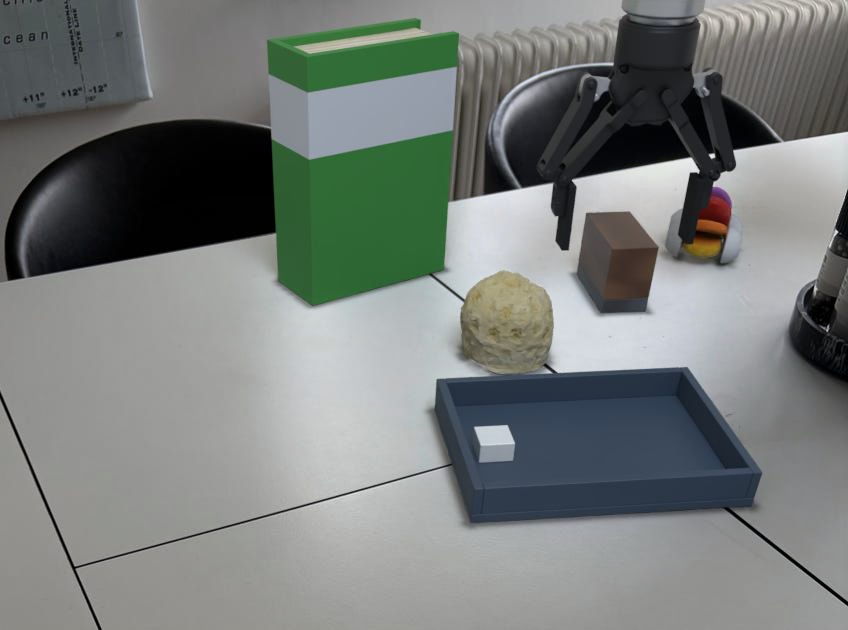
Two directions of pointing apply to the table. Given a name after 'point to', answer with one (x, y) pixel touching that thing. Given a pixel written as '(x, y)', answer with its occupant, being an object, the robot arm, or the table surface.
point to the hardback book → (361, 155)
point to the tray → (594, 445)
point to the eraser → (616, 261)
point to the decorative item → (507, 324)
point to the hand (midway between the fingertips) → (623, 243)
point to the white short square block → (493, 443)
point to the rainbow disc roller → (710, 230)
